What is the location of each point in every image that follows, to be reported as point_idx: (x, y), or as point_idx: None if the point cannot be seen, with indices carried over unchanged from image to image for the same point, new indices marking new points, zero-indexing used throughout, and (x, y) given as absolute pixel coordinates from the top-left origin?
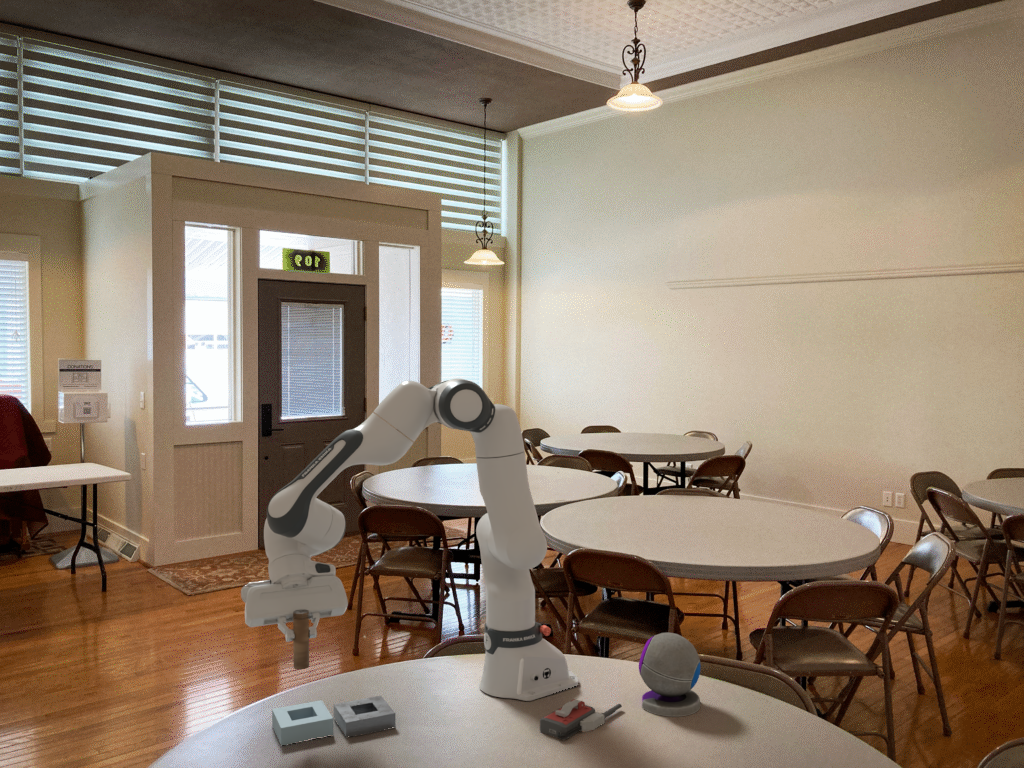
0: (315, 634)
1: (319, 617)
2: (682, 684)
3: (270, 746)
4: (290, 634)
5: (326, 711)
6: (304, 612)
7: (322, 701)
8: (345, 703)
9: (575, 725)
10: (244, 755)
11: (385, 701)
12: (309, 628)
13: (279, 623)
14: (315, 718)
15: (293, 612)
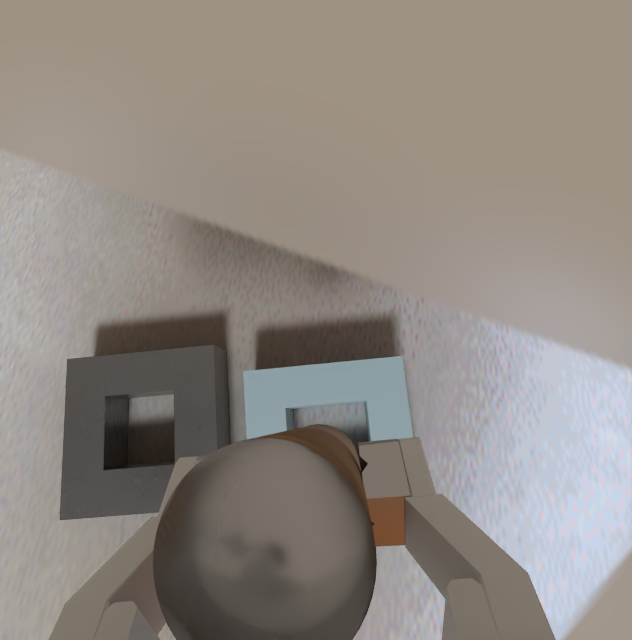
0: (193, 458)
1: (72, 602)
2: None
3: (424, 374)
4: (393, 454)
5: (253, 433)
6: (222, 484)
7: None
8: None
9: None
10: (493, 344)
11: (63, 461)
12: None
13: (521, 576)
14: (294, 390)
15: (371, 557)
